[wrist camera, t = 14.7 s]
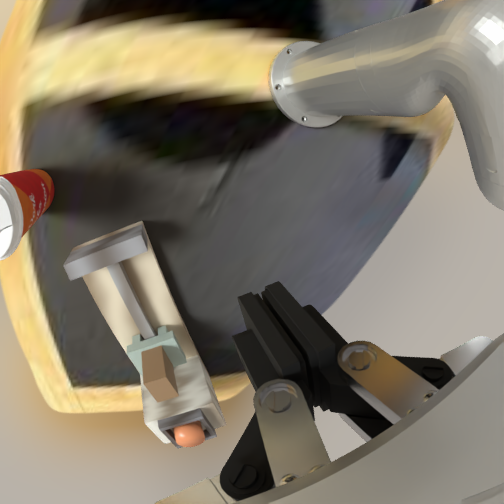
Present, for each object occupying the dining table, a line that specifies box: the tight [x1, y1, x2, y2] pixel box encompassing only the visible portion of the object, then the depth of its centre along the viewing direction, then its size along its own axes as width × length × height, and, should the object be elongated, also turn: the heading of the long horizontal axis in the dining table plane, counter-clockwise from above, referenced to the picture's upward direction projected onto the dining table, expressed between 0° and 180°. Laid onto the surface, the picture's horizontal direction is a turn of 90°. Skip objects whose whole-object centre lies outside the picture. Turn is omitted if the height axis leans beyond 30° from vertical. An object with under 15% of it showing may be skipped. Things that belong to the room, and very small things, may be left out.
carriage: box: [127, 326, 187, 403], centre depth 35 cm, size 7×5×9 cm
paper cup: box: [0, 169, 54, 260], centre depth 22 cm, size 8×8×14 cm
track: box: [63, 221, 226, 448], centre depth 34 cm, size 10×28×13 cm, turn 13°
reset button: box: [173, 420, 205, 447], centre depth 33 cm, size 4×4×2 cm
